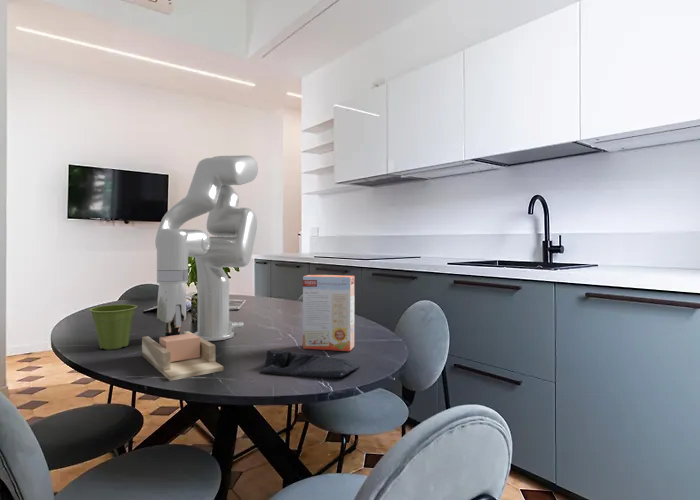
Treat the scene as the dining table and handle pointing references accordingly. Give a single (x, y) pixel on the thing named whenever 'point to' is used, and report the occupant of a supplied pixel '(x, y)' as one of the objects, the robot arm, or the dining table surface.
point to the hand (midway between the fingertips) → (172, 347)
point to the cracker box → (328, 312)
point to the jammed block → (181, 346)
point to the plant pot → (113, 325)
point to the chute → (183, 367)
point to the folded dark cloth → (307, 365)
